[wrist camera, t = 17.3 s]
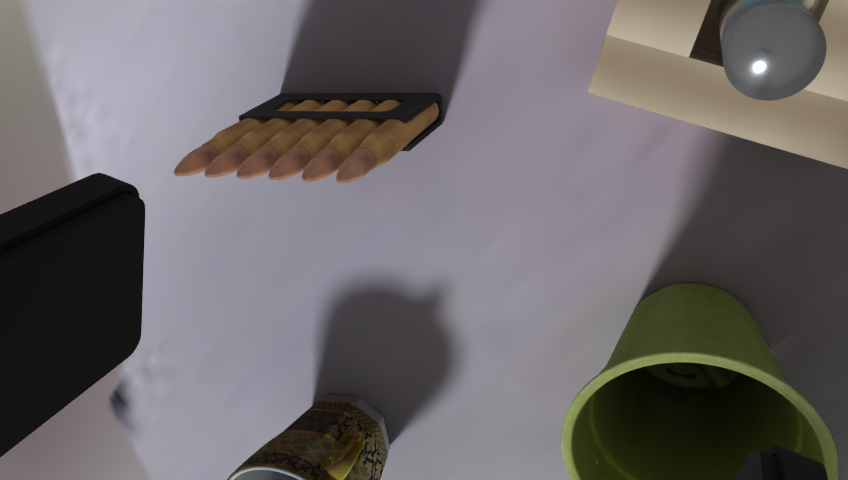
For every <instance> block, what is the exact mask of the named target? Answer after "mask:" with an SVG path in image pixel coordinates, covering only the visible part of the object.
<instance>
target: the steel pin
mask: <svg viewBox="0 0 848 480" xmlns="http://www.w3.org/2000/svg"><path fill="white" fill-rule="evenodd" d="M718 24H719V32H720V40H721V49H722V57H723V66H724V70H725V73H726V76H727V78H728V80H729V81H730V83H731V84H732V85H733V87H734V88H735V89H737V90H738V91H739V92H740V93H742V94H744V95H746V96H748V97H750V98H753V99H757V100H764V101H773V100H780V99H784V98H787V97H790V96H792V95H794V94H796V93H798V92H800V91H801V90H803V89H804V88H806V87H807V86H808V85H809V84H810V83H811V82H812V81H813V80H814V79H815V78H816V76H817V75H818V74H819V72H820V70H821V68H822V66H823V64H824V61H825V57H826V50H827V45H826V38H825V35H824V32H823V30H822V28H821V26H820V25H819V23H818V22H817V21H816V20H815V18H814V17H813V16H812V15H811V14H810V12H809V11H808V10H807V9H806V8H805V6H804V5H803V4H802V3H801V2H800V0H721V1H720V4H719V8H718Z"/></svg>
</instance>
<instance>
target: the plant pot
mask: <svg viewBox="0 0 848 480" xmlns="http://www.w3.org/2000/svg"><path fill="white" fill-rule="evenodd" d="M670 368H675V369H678V370H682V371H685V372H688V373H690V374H691V373H694V374H693V375H694V376H695V377H694V378H688V377H681V376H678V375H675V374H672V373H670V372H668V369H670ZM773 445H779V446H782V447H784V448H786V449H789V450H791V451H794V452H796V453H799V454H801V455H804V456H806V457H809V458H811V459H814V460H816V461H819V462H821V463H822V464H823V465H824V467H825V469H826V472H827V477H828V480H838V456H837V451H836V447H835V444H834V441H833V438H832V436H831V434H830V432H829V430H828V428H827V426H826V424H825V422H824V421H823V419H822V418H821V416H820V415H819V413H818V412H817V411H816V410H815V409H814V407H813V406H812V405H811V404H810V403H809V402H808V401H807V400H806V399H805V398H804V397H803V396H802V395H801V394H800V393H799V392H798V391H797V390H795V389H794V388H793V387H791V385H790V384H789V383H788V382H787V381H786V379H785V378H784V377H783V375H782V374H781V372H780V370H779V368H778V366H777V364H776V362H775V360H774V358H773V356H772V354H771V352H770V350H769V348H768V346H767V344H766V342H765V340H764V338H763V336H762V334H761V332H760V330H759V328H758V326H757V324H756V322H755V320H754V318H753V317H752V315H751V314H750V312H749V311H748V310H747V309H746V308H745V307H744V305H743V304H742V303H741V302H740V301H738V300H737V299H736V298H735V297H734V296H732V295H731V294H729V293H727V292H725V291H723V290H721V289H718V288H716V287H712V286H709V285H705V284H697V283H682V284H674V285H670V286H667V287H664V288H662V289H661V290H659V291H657V292H655V293H653V294H652V295H650V296H648V297H647V298H645V299H644V300H642V301H641V302H640V303H639V305H638V306H637V307H636V308H635V310H634V312H633V314H632V315H631V317H630V319H629V321H628V323H627V325H626V327H625V329H624V331H623V333H622V335H621V337H620V339H619V341H618V343H617V345H616V347H615V349H614V351H613V353H612V355H611V357H610V359H609V361H608V363H607V365H606V367H605V368H604V369H603V370H602V371H601V372H600V373H599V375H597V376H596V377H594V378H593V379H592V380H591V381H589V382H588V383H587V384H586V385H585V386H584V387H583V388H582V390H581V391H580V392H579V393H578V394H577V396H576V397H575V399H574V400H573V402H572V403H571V405H570V407H569V409H568V411H567V413H566V416H565V419H564V423H563V427H562V434H561V450H562V456H563V461H564V465H565V468H566V471H567V473H568V475H569V478H570V480H733V478H734V477H735V475H736V473H737V472H738V470H739V469H740V467H741V466H742V464H743V462H744V461H745V459H746V458H747V456H748V455H749V454H750V452H751V451H752V450H754V449H759V450H761V451H764V452H767V450H768V449H769V448H770V447H772V446H773Z"/></svg>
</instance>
